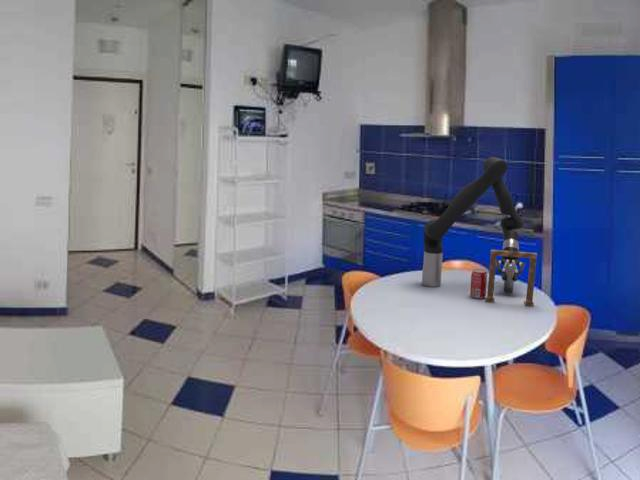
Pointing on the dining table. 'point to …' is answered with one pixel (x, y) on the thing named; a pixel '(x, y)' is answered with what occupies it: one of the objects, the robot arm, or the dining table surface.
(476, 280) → the soda can
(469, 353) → the dining table surface
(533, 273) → the arch
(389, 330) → the dining table surface
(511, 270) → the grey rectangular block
